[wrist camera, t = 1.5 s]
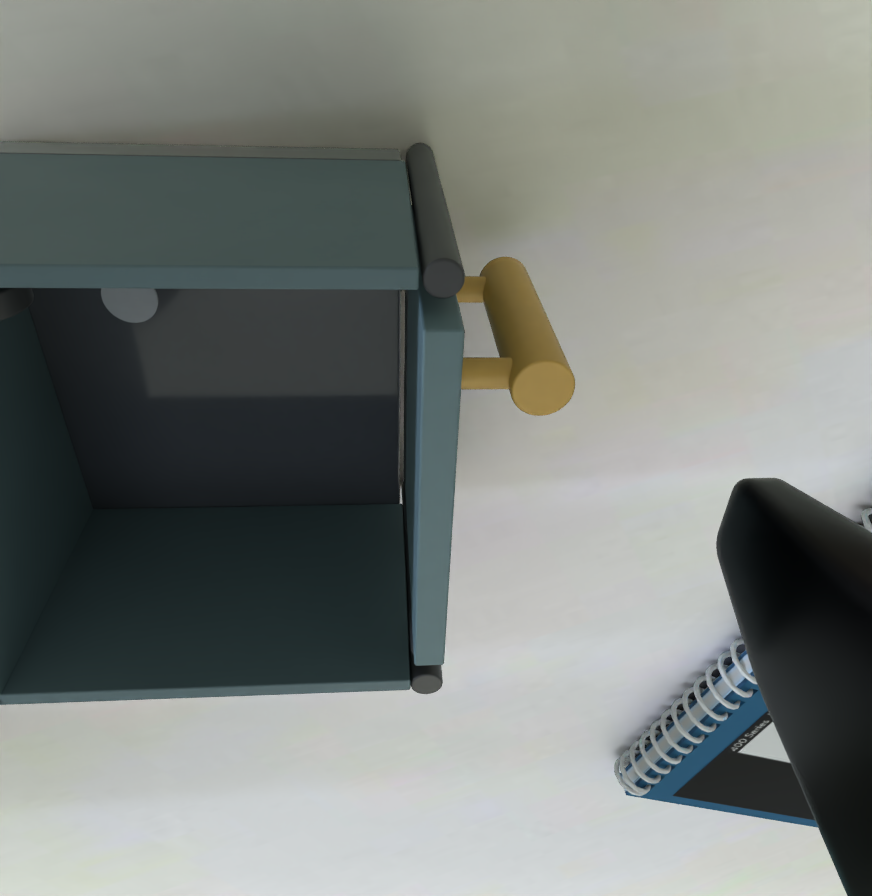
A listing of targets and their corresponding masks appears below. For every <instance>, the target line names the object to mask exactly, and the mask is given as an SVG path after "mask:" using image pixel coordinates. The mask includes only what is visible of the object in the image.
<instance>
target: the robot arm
mask: <svg viewBox="0 0 872 896" xmlns="http://www.w3.org/2000/svg"><path fill="white" fill-rule="evenodd" d="M716 548H717V555H718V559H719V563H720V566H721V569H722V573H723V576H724V579H725V582H726V586H727V589H728V592H729V596H730V599H731V602H732V606H733V609H734V612H735V615H736V619H737V622H738V625H739V629H740V632H741V635H742V638H743V642H744V645H745V648H746V652H747V655H748V658H749V661H750V664H751V667H752V670H753V673H754V676H755V679H756V682H757V685H758V687H759V690H760V692H761V695H762V697H763V700H764V702H765V704H766V707H767V709H768V711H769V714H770V716H771V718H772V721H773V723H774V725H775V728H776V730H777V732H778V735H779V737H780V739H781V742H782V744H783V746H784V749H785V751H786V753H787V756H788V758H789V760H790V763H791V765H792V767H793V770H794V772H795V774H796V777H797V779H798V781H799V784H800V786H801V788H802V791H803V793H804V795H805V798H806V800H807V802H808V805H809V807H810V809H811V812H812V814H813V816H814V819H815V821H816V823H817V826H818V828H819V830H820V833H821V835H822V837H823V840H824V842H825V844H826V847H827V849H828V851H829V854H830V856H831V858H832V861H833V863H834V865H835V868H836V870H837V872H838V875H839V877H840V879H841V882H842V884H843V886H844V889H845V891H846V893H847V896H872V532H871V531H869V530H867V529H865V528H864V527H862V526H860V525H859V524H857V523H855V522H853V521H852V520H850V519H848V518H846V517H845V516H843V515H841V514H840V513H838V512H836V511H834V510H833V509H831V508H829V507H828V506H826V505H824V504H822V503H821V502H819V501H817V500H816V499H814V498H812V497H810V496H809V495H807V494H805V493H803V492H802V491H800V490H798V489H797V488H795V487H793V486H791V485H790V484H788V483H786V482H785V481H783V480H781V479H777V478H747V479H743V480H740V481H739V482H737V484H736V485H735V486H734V488H733V490H732V493H731V496H730V499H729V502H728V505H727V508H726V511H725V514H724V517H723V519H722V522H721V525H720V528H719V531H718V535H717V542H716Z"/></svg>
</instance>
